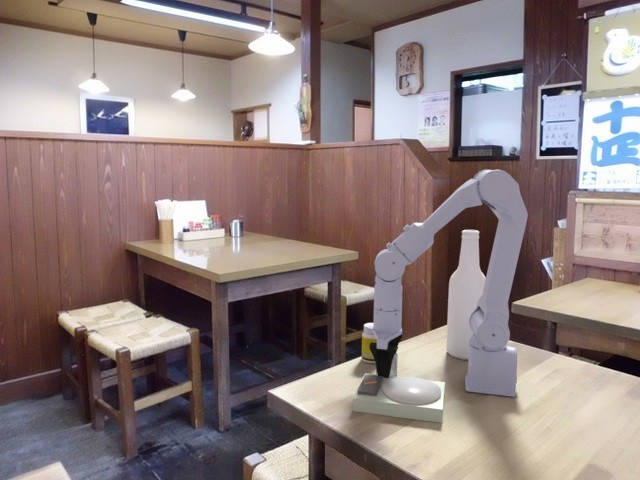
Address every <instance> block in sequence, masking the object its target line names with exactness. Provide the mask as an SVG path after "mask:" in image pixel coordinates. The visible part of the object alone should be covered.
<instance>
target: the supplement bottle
mask: <svg viewBox="0 0 640 480" xmlns="http://www.w3.org/2000/svg"><path fill="white" fill-rule="evenodd" d="M373 324H374V322H367V323H364V324H363V332H362V333H361V360H362V361H363V363H367V364H375V360H374V357H373V354H372V352H371V351H370V348H369V345H370V343H371V342H373V343H377V339H376V337H375V335H374V334H373V332H370V331H368V326H373Z"/></svg>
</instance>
